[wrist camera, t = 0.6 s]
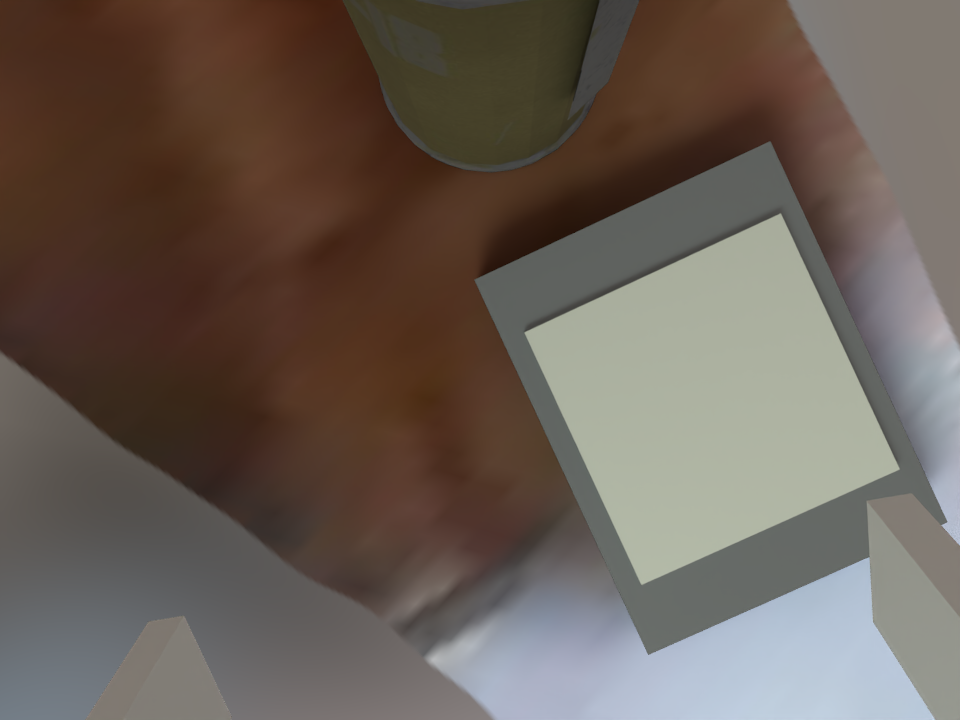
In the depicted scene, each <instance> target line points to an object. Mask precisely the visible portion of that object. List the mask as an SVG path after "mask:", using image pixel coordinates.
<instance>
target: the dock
mask: <svg viewBox="0 0 960 720" xmlns="http://www.w3.org/2000/svg"><path fill="white" fill-rule="evenodd" d="M475 282H476V284H477V287H478V289H479V291H480V293H481V295H482V297H483V299H484V302H485V304H486V306H487V308H488V310H489V312H490V315H491V317H492V319H493V321H494V323H495V325H496V327H497V330H498V332H499V334H500V336H501V338H502V340H503V343H504V345H505V347H506V349H507V351H508V353H509V356H510V358H511V360H512V362H513V364H514V366H515V368H516V371H517V373H518V375H519V377H520V379H521V381H522V384H523V386H524V388H525V390H526V392H527V394H528V396H529V399H530V401H531V403H532V405H533V407H534V409H535V412H536V414H537V416H538V418H539V420H540V422H541V425H542V427H543V429H544V431H545V433H546V435H547V437H548V440H549V442H550V444H551V446H552V448H553V450H554V453H555V455H556V457H557V459H558V461H559V463H560V465H561V468H562V470H563V472H564V474H565V476H566V478H567V481H568V483H569V485H570V487H571V489H572V491H573V494H574V496H575V498H576V500H577V502H578V504H579V506H580V509H581V511H582V513H583V515H584V517H585V519H586V522H587V524H588V526H589V528H590V530H591V532H592V534H593V537H594V539H595V541H596V543H597V545H598V547H599V550H600V552H601V554H602V556H603V558H604V560H605V563H606V565H607V567H608V569H609V571H610V573H611V575H612V578H613V580H614V582H615V584H616V586H617V588H618V591H619V593H620V595H621V597H622V599H623V601H624V603H625V606H626V608H627V610H628V612H629V614H630V616H631V619H632V621H633V623H634V625H635V627H636V629H637V632H638V634H639V636H640V638H641V640H642V642H643V644H644V647H645V649H646V651H647V653H648V655H649V654H651V653H654V652H656V651H658V650H660V649H663V648H665V647H667V646H669V645H672V644H674V643H676V642H678V641H681V640H683V639H685V638H687V637H690V636H692V635H694V634H696V633H699V632H701V631H703V630H705V629H708V628H710V627H712V626H714V625H717V624H719V623H721V622H723V621H726V620H728V619H730V618H732V617H735V616H737V615H739V614H741V613H744V612H746V611H748V610H750V609H753V608H755V607H757V606H759V605H762V604H764V603H766V602H769V601H771V600H773V599H775V598H778V597H780V596H782V595H784V594H787V593H789V592H791V591H793V590H796V589H798V588H800V587H802V586H805V585H807V584H809V583H811V582H814V581H816V580H818V579H820V578H823V577H825V576H827V575H829V574H832V573H834V572H836V571H838V570H841V569H843V568H845V567H847V566H850V565H852V564H854V563H856V562H859V561H861V560H863V559H865V558H868V557H870V554H869V535H868V516H867V501H868V500H874V499H880V498H886V497H892V496H898V495H904V494H910V493H912V494H913V495H914V496H915V497H916V499H917V500H918V501H919V502H920V503H921V504H922V505H923V506H924V507H925V508H926V509H927V511H928V512H929V513H930V514H931V515H932V516H933V517H934V518H935V519H936V520H937V522H938V523H939V524H940V525H942V524H944V523H947V520H946V518H945V516H944V514H943V512H942V510H941V507H940V505H939V503H938V501H937V499H936V497H935V494H934V492H933V490H932V488H931V486H930V484H929V482H928V479H927V477H926V475H925V473H924V471H923V469H922V467H921V464H920V462H919V460H918V458H917V456H916V454H915V451H914V449H913V447H912V445H911V443H910V441H909V439H908V436H907V434H906V432H905V430H904V428H903V426H902V423H901V421H900V419H899V417H898V415H897V413H896V411H895V408H894V406H893V404H892V402H891V400H890V398H889V396H888V393H887V391H886V389H885V387H884V385H883V383H882V380H881V378H880V376H879V374H878V372H877V370H876V368H875V365H874V363H873V361H872V359H871V357H870V355H869V352H868V350H867V348H866V346H865V344H864V342H863V340H862V337H861V335H860V333H859V331H858V329H857V327H856V325H855V322H854V320H853V318H852V316H851V314H850V312H849V309H848V307H847V305H846V303H845V301H844V299H843V297H842V294H841V292H840V290H839V288H838V286H837V284H836V281H835V279H834V277H833V275H832V273H831V271H830V269H829V266H828V264H827V262H826V260H825V258H824V256H823V254H822V251H821V249H820V247H819V245H818V243H817V241H816V238H815V236H814V234H813V232H812V230H811V228H810V226H809V223H808V221H807V219H806V217H805V215H804V213H803V210H802V208H801V206H800V204H799V202H798V200H797V198H796V195H795V193H794V191H793V189H792V187H791V185H790V183H789V180H788V178H787V176H786V174H785V172H784V170H783V167H782V165H781V163H780V161H779V159H778V157H777V155H776V152H775V150H774V148H773V146H772V144H771V142H767V143H765V144H763V145H761V146H759V147H757V148H755V149H753V150H750V151H748V152H746V153H744V154H742V155H740V156H738V157H735V158H733V159H731V160H729V161H727V162H725V163H723V164H721V165H718V166H716V167H714V168H712V169H710V170H708V171H706V172H703V173H701V174H699V175H697V176H695V177H693V178H691V179H688V180H686V181H684V182H682V183H680V184H678V185H676V186H674V187H671V188H669V189H667V190H665V191H663V192H661V193H659V194H656V195H654V196H652V197H650V198H648V199H646V200H644V201H642V202H639V203H637V204H635V205H633V206H631V207H629V208H627V209H624V210H622V211H620V212H618V213H616V214H614V215H612V216H609V217H607V218H605V219H603V220H601V221H599V222H597V223H595V224H592V225H590V226H588V227H586V228H584V229H582V230H580V231H577V232H575V233H573V234H571V235H569V236H567V237H565V238H563V239H560V240H558V241H556V242H554V243H552V244H550V245H548V246H545V247H543V248H541V249H539V250H537V251H535V252H533V253H530V254H528V255H526V256H524V257H522V258H520V259H518V260H516V261H513V262H511V263H509V264H507V265H505V266H503V267H501V268H498V269H496V270H494V271H492V272H490V273H488V274H486V275H484V276H481V277H479V278H477V279H475Z"/></svg>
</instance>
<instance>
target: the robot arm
mask: <svg viewBox="0 0 960 720" xmlns="http://www.w3.org/2000/svg"><path fill="white" fill-rule="evenodd" d="M867 516H868V535H869V554H870V573H871V592H872V611H873V623H874V624H875V626H876V627H877V629H878V630H879V632H880V634H881V635H882V637H883V638H884V640H885V641H886V643H887V645H888V646H889V648H890V649H891V651H892V652H893V654H894V655H895V657H896V659H897V660H898V662H899V663H900V665H901V666H902V668H903V670H904V671H905V673H906V674H907V676H908V677H909V679H910V681H911V682H912V684H913V685H914V687H915V688H916V690H917V692H918V693H919V695H920V696H921V698H922V699H923V701H924V703H925V704H926V706H927V707H928V709H929V710H930V712H931V714H932V715H933V717H934V718H935V720H960V546H959V545H958V543H957V542H956V541H955V540H954V539H953V538H952V537H951V536H950V535H949V534H948V532H947V531H946V530H945V529H944V528H943V527H942V526H941V525H940V524H939V523H938V522H937V520H936V519H935V518H934V517H933V516H932V515H931V514H930V513H929V512H928V511H927V509H926V508H925V507H924V506H923V505H922V504H921V503H920V502H919V501H918V500H917V499H916V497H915V496H914V495H913V494H912V493H910V494H904V495H898V496H892V497H886V498H880V499H874V500H868V501H867ZM231 719H232V717H231V715H230V712H229V710H228V708H227V706H226V704H225V702H224V700H223V698H222V695H221V693H220V691H219V689H218V687H217V685H216V683H215V681H214V678H213V676H212V674H211V672H210V670H209V668H208V666H207V664H206V661H205V659H204V657H203V655H202V653H201V651H200V649H199V647H198V644H197V642H196V640H195V638H194V636H193V634H192V632H191V630H190V627H189V625H188V623H187V621H186V619H185V617H184V616H179V617H173V618H168V619H161V620H155V621H149V622H148V623H147V625H146V626H145V628H144V630H143V631H142V633H141V634H140V636H139V637H138V639H137V641H136V642H135V644H134V645H133V647H132V648H131V650H130V651H129V653H128V655H127V656H126V658H125V659H124V661H123V662H122V664H121V665H120V667H119V669H118V670H117V672H116V673H115V675H114V676H113V678H112V679H111V681H110V682H109V684H108V686H107V687H106V689H105V690H104V692H103V693H102V695H101V696H100V698H99V700H98V701H97V703H96V704H95V706H94V707H93V709H92V710H91V712H90V714H89V715H88V717H87V718H86V720H231Z"/></svg>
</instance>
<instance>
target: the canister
mask: <svg viewBox="0 0 960 720" xmlns="http://www.w3.org/2000/svg"><path fill="white" fill-rule="evenodd" d="M343 2H344V4H345V7H346V9H347V11H348V13H349V15H350V17H351V19H352V21H353V24H354V26H355V28H356V30H357V32H358V34H359V36H360V38H361V40H362V43H363V45H364V47H365V49H366V51H367V53H368V55H369V57H370V60H371V62H372V64H373V66H374V68H375V70H376V72H377V74H378V76H379V81H380V85H381V90H382V93H383V96H384V99H385V102H386V105H387V107H388V109H389V111H390V112H391V114H392V116H393V118H394V119H395V121H396V123H397V125H398V126H399V127H400V128H401V129H402V131H403V132H404V133H405V134H406V135H407V136H408V137H409V138H410V140H411V141H412V142H413V143H414V144H415V145H416V146H418V147H419V148H420V149H422V150H423V151H425V152H426V153H427V154H429V155H430V156H432V157H433V158H435V159H437V160H439V161H441V162H443V163H445V164H448V165H451V166H454V167H458V168H461V169H464V170H473V171H483V172H498V171H507V170H513V169H516V168H520V167H523V166H526V165H529V164H532V163H534V162H536V161H538V160H539V159H541V158H543V157H545V156H546V155H548V154H550V153H552V152H553V151H555V150H557V149H558V148H559V147H560V146H561V145H562V144H563V143H564V142H565V141H566V140H567V139H568V138H569V137H570V136H571V135H572V134H573V133H574V132H575V131H576V130H577V129H578V127H579V126H580V125H581V123H582V122H583V120H584V119H585V117H586V115H587V113H588V112H589V110H590V108H591V106H592V104H593V101H594V99H595V96H596V93H597V92H598V91H599V90H600V89H602V88H603V87H604V86H605V85H606V84H607V83H608V81H609V78H610V76H611V73H612V71H613V68H614V65H615V63H616V60H617V57H618V55H619V52H620V50H621V47H622V44H623V42H624V39H625V36H626V34H627V31H628V29H629V26H630V23H631V21H632V18H633V15H634V13H635V10H636V8H637V5H638V2H639V0H343Z"/></svg>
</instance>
